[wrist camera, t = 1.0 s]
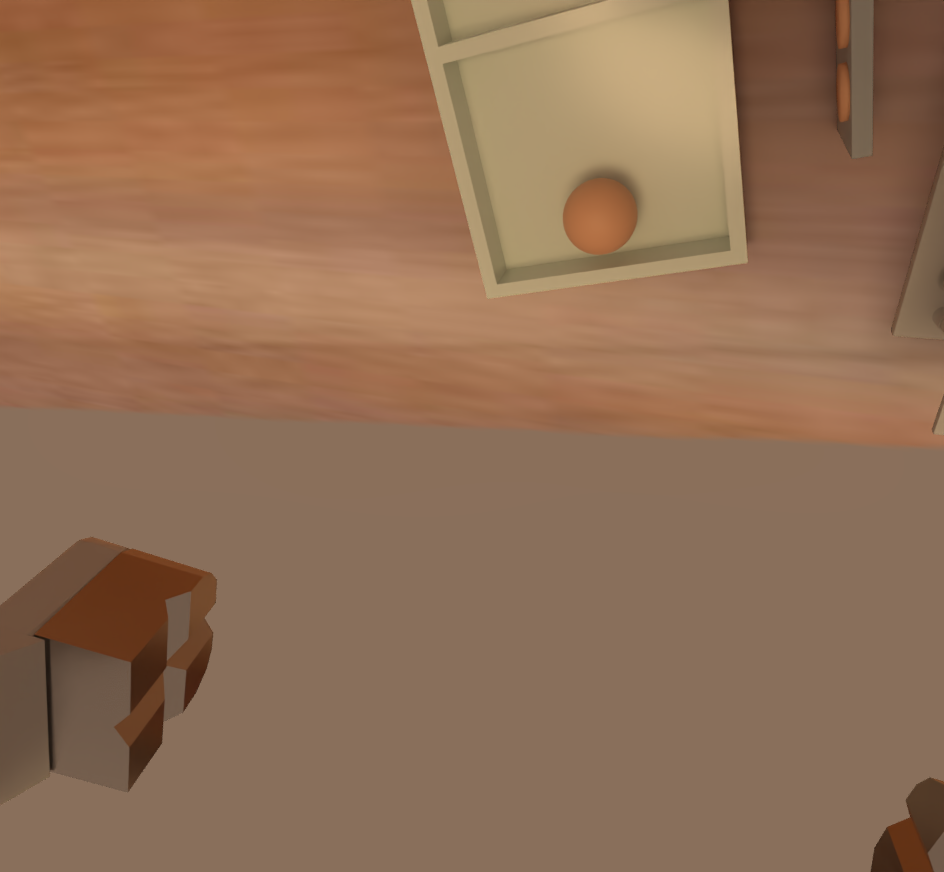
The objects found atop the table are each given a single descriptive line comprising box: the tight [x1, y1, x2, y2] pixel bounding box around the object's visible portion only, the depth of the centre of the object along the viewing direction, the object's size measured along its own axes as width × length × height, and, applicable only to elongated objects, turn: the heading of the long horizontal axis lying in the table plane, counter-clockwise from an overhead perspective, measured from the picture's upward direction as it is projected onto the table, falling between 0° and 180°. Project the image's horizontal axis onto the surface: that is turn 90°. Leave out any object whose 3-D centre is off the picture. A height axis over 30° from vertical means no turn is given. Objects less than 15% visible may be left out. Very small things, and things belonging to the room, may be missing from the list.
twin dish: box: [411, 0, 748, 299], centre depth 37 cm, size 15×26×3 cm, turn 15°
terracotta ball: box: [563, 178, 638, 255], centre depth 41 cm, size 4×4×4 cm
